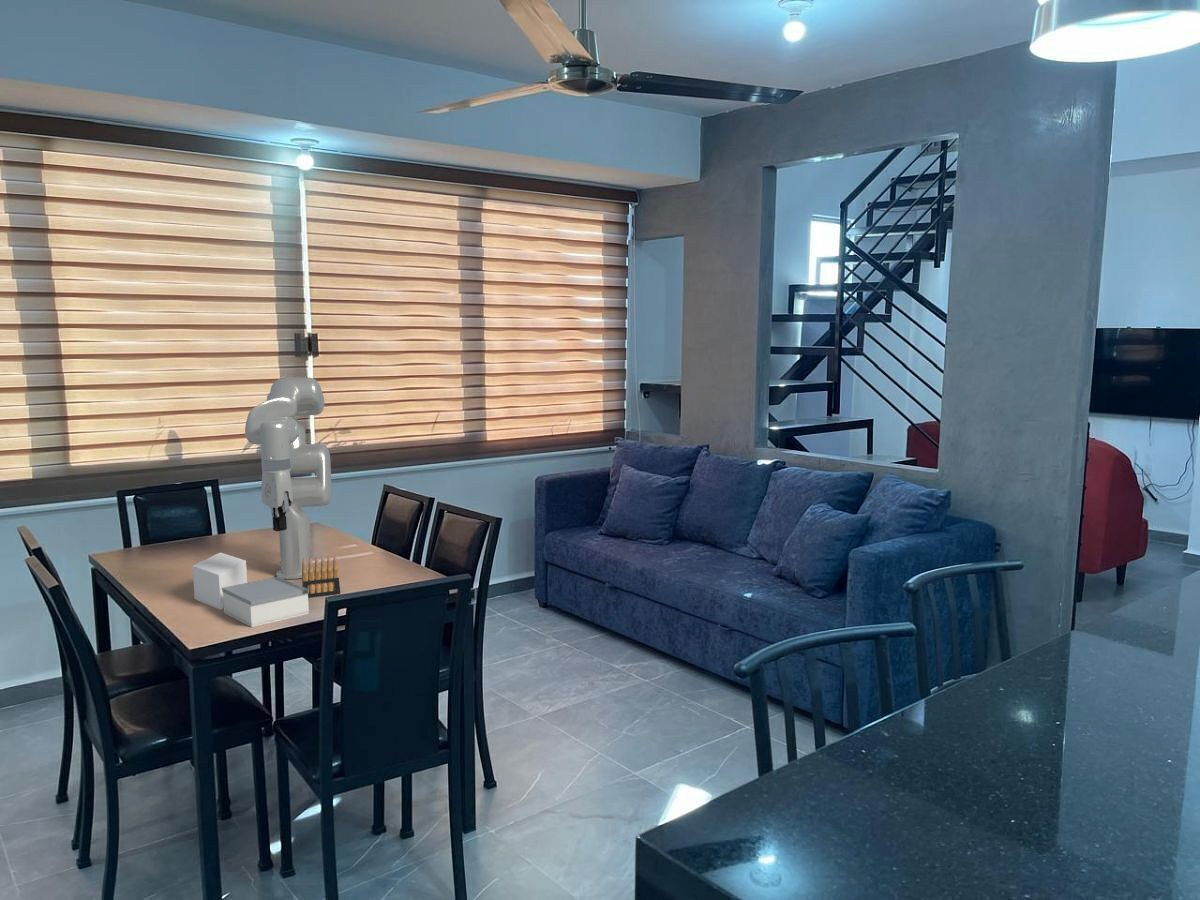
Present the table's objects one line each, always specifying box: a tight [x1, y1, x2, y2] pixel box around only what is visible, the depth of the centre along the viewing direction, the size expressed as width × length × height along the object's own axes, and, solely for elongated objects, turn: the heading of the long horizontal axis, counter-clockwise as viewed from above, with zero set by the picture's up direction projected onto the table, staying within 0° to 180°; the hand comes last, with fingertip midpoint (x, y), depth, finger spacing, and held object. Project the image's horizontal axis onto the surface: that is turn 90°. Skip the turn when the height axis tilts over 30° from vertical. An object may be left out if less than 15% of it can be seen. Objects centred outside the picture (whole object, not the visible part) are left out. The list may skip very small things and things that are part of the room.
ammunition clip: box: [301, 554, 341, 599], centre depth 256 cm, size 11×2×12 cm, turn 114°
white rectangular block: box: [192, 552, 248, 611], centre depth 256 cm, size 14×29×10 cm, turn 23°
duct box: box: [223, 592, 310, 628], centre depth 240 cm, size 18×17×6 cm
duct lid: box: [222, 576, 309, 605], centre depth 239 cm, size 19×16×1 cm
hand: (280, 530), depth 241 cm, fingers closed
